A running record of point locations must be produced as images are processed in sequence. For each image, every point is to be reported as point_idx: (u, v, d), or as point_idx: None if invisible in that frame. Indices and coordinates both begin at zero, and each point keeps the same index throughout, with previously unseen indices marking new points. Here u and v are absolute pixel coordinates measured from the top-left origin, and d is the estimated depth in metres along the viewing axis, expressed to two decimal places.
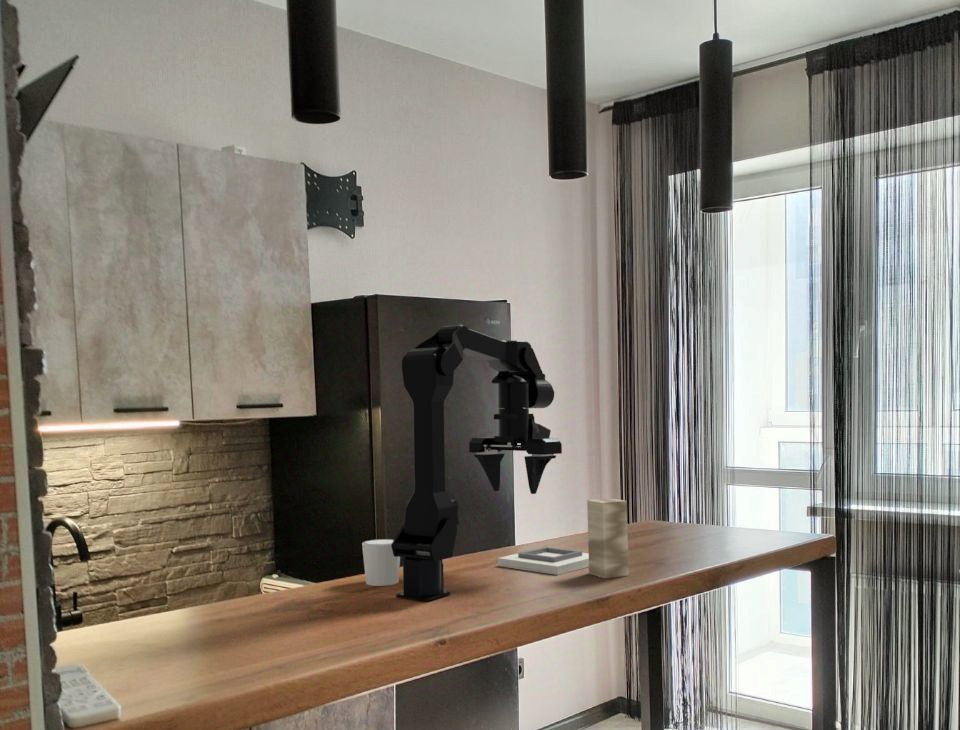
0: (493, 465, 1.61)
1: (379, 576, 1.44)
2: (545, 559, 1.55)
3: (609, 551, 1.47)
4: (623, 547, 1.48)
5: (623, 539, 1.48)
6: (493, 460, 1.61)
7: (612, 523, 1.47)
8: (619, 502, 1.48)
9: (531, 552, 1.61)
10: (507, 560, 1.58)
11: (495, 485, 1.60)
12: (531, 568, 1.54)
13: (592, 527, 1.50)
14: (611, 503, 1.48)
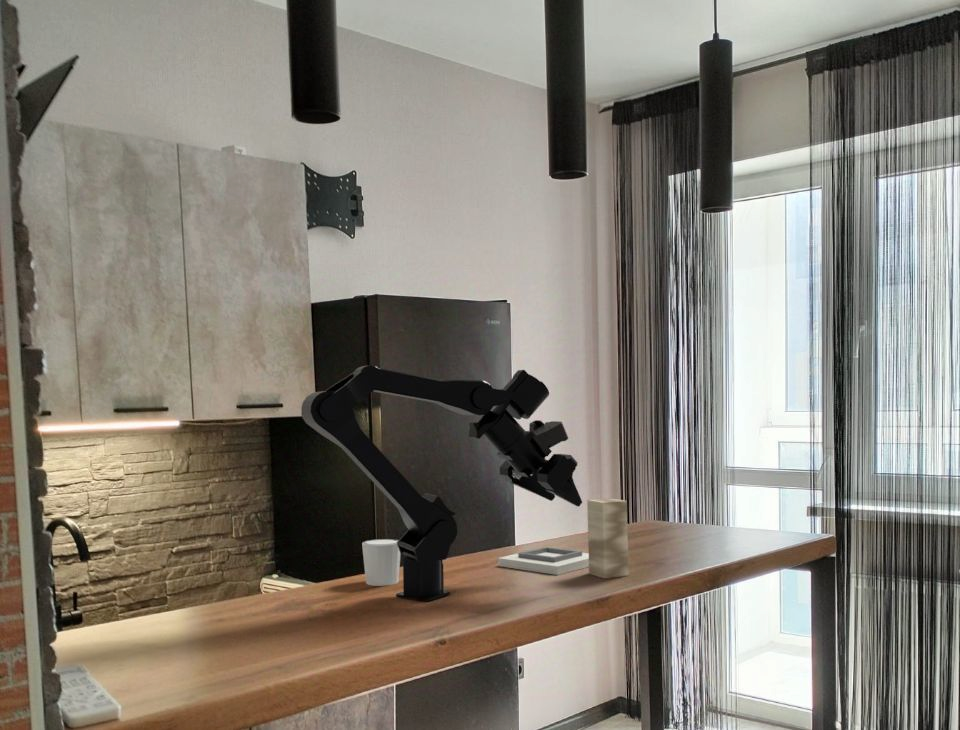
0: (533, 482, 1.50)
1: (379, 576, 1.44)
2: (545, 559, 1.55)
3: (609, 551, 1.47)
4: (623, 547, 1.48)
5: (623, 539, 1.48)
6: (530, 477, 1.50)
7: (612, 523, 1.47)
8: (619, 502, 1.48)
9: (531, 552, 1.61)
10: (507, 560, 1.58)
11: (548, 496, 1.51)
12: (531, 568, 1.54)
13: (592, 527, 1.50)
14: (611, 503, 1.48)
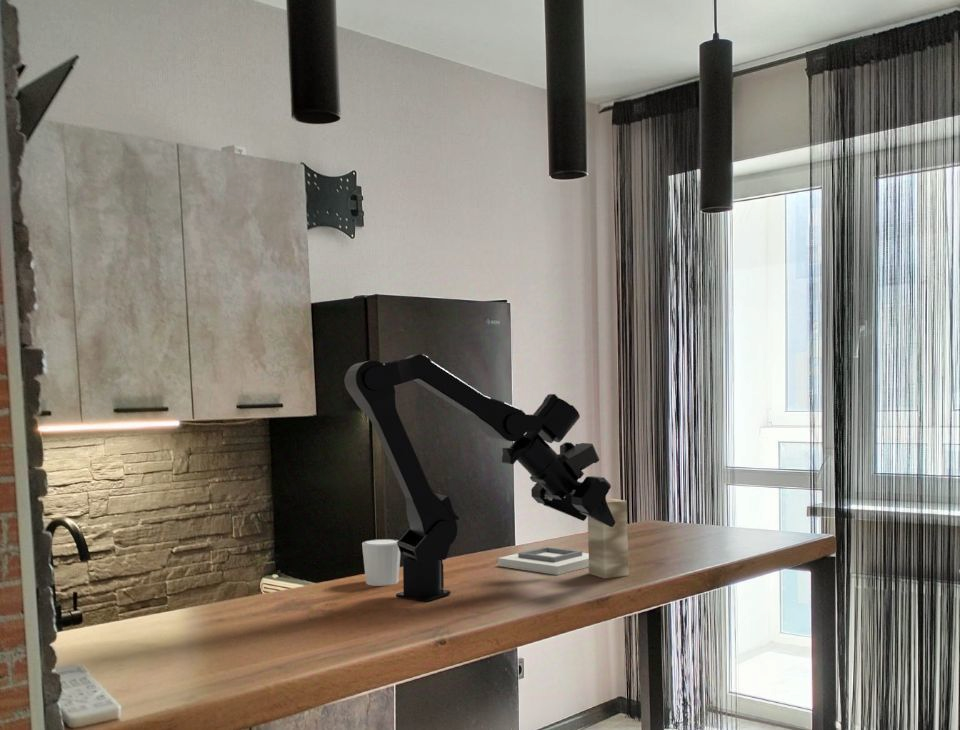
0: (565, 503, 1.52)
1: (379, 576, 1.44)
2: (545, 559, 1.55)
3: (609, 551, 1.47)
4: (623, 547, 1.48)
5: (623, 539, 1.48)
6: (562, 499, 1.52)
7: None
8: (619, 502, 1.48)
9: (531, 552, 1.61)
10: (507, 560, 1.58)
11: (580, 517, 1.53)
12: (531, 568, 1.54)
13: (592, 527, 1.50)
14: (611, 503, 1.48)
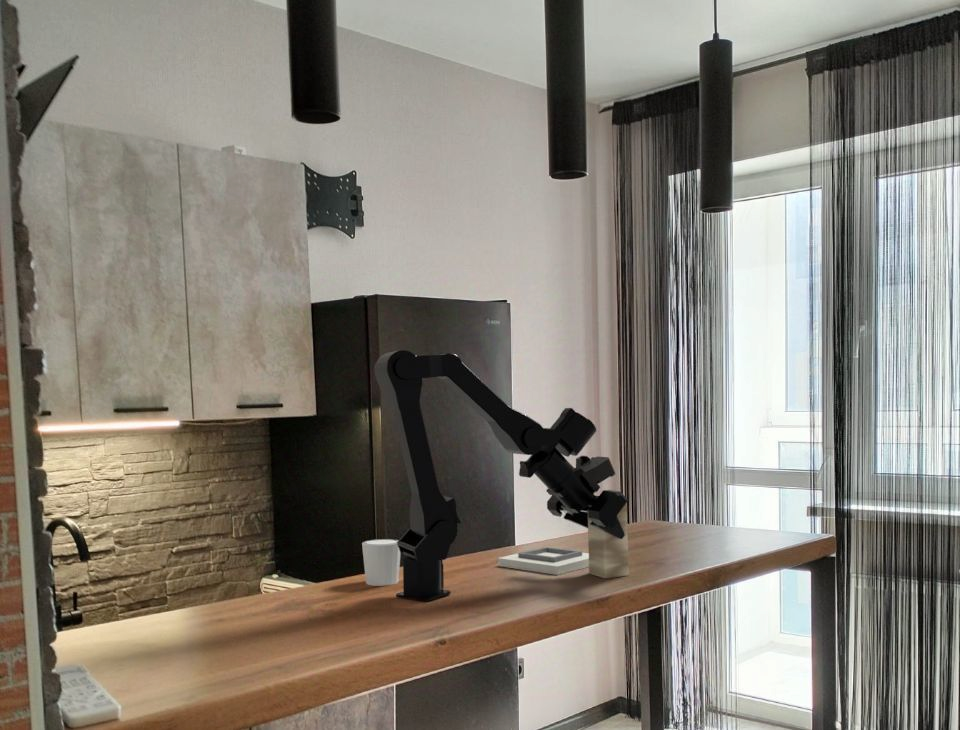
0: (586, 517, 1.52)
1: (379, 576, 1.44)
2: (545, 559, 1.55)
3: (609, 551, 1.47)
4: (623, 547, 1.48)
5: (623, 539, 1.48)
6: (583, 513, 1.52)
7: None
8: None
9: (531, 552, 1.61)
10: (507, 560, 1.58)
11: None
12: (531, 568, 1.54)
13: (592, 527, 1.50)
14: None
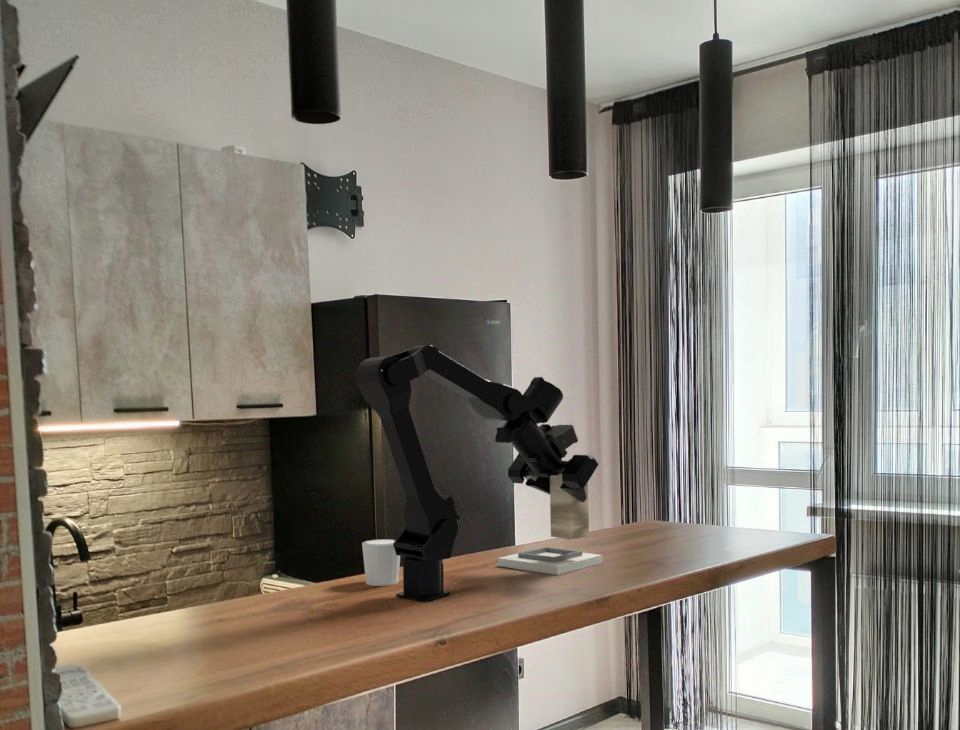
0: (548, 483, 1.58)
1: (379, 576, 1.44)
2: (545, 559, 1.55)
3: (574, 514, 1.54)
4: (585, 510, 1.56)
5: (585, 502, 1.56)
6: (545, 479, 1.58)
7: None
8: None
9: (531, 552, 1.61)
10: (507, 560, 1.58)
11: None
12: (531, 568, 1.54)
13: (555, 492, 1.57)
14: None
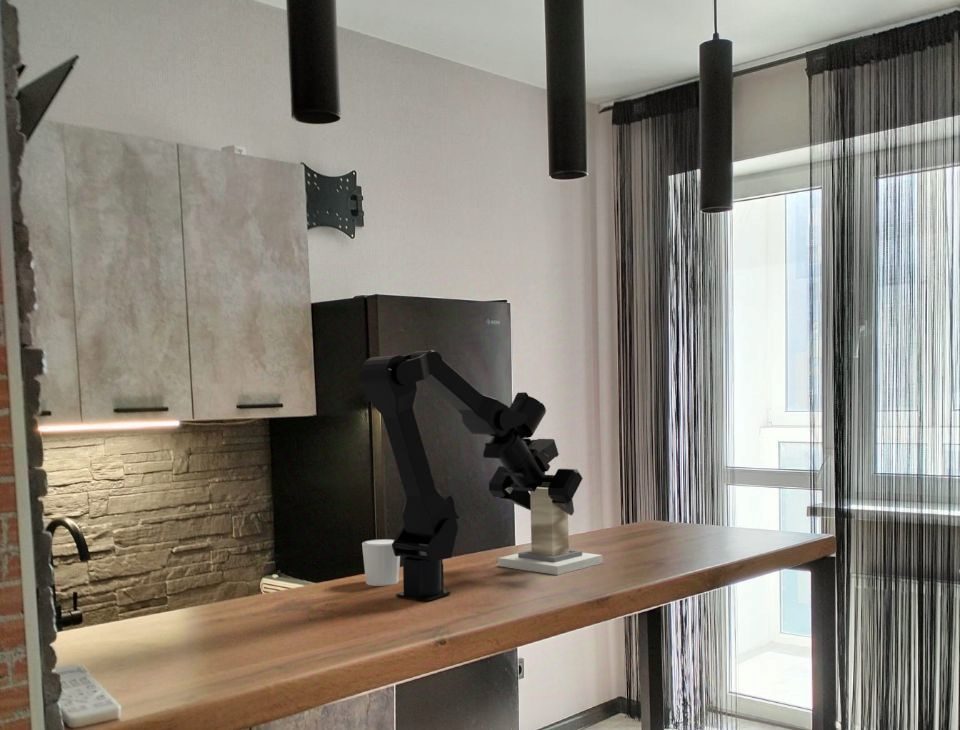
0: (522, 495, 1.62)
1: (379, 576, 1.44)
2: (545, 559, 1.55)
3: (555, 534, 1.57)
4: (565, 530, 1.59)
5: (565, 522, 1.60)
6: (519, 492, 1.61)
7: (557, 507, 1.58)
8: None
9: (531, 552, 1.61)
10: (507, 560, 1.58)
11: None
12: (531, 568, 1.54)
13: (537, 513, 1.59)
14: None
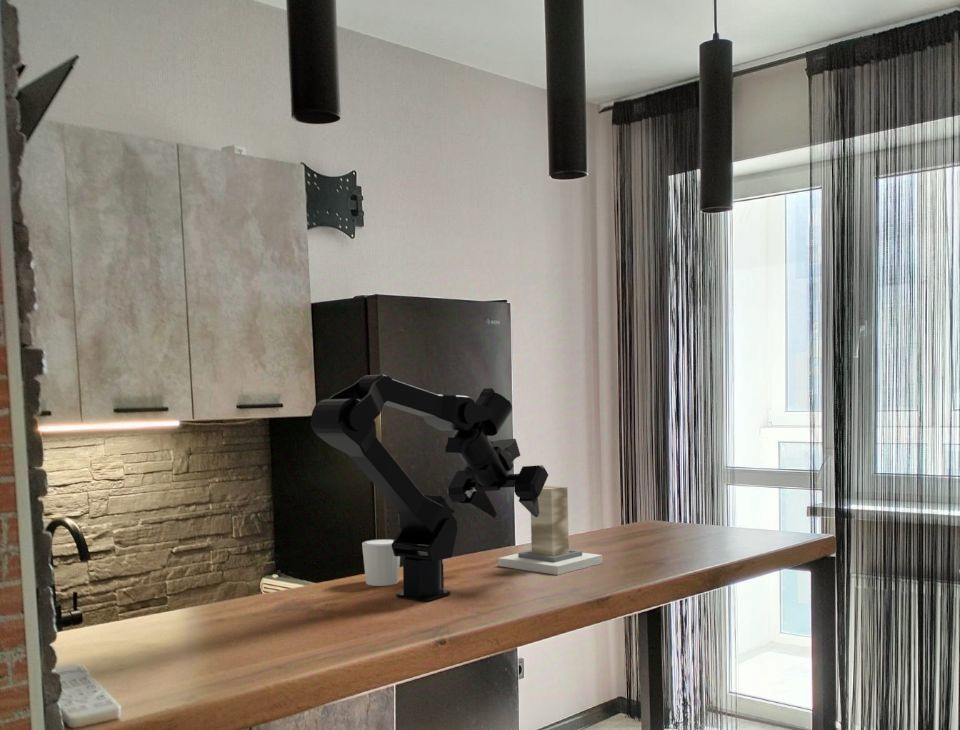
0: (481, 500, 1.55)
1: (379, 576, 1.44)
2: (545, 559, 1.55)
3: (555, 534, 1.57)
4: (565, 530, 1.59)
5: (565, 522, 1.60)
6: (479, 496, 1.54)
7: (557, 507, 1.58)
8: (562, 488, 1.59)
9: (531, 552, 1.61)
10: (507, 560, 1.58)
11: (492, 514, 1.56)
12: (531, 568, 1.54)
13: None
14: (557, 489, 1.58)
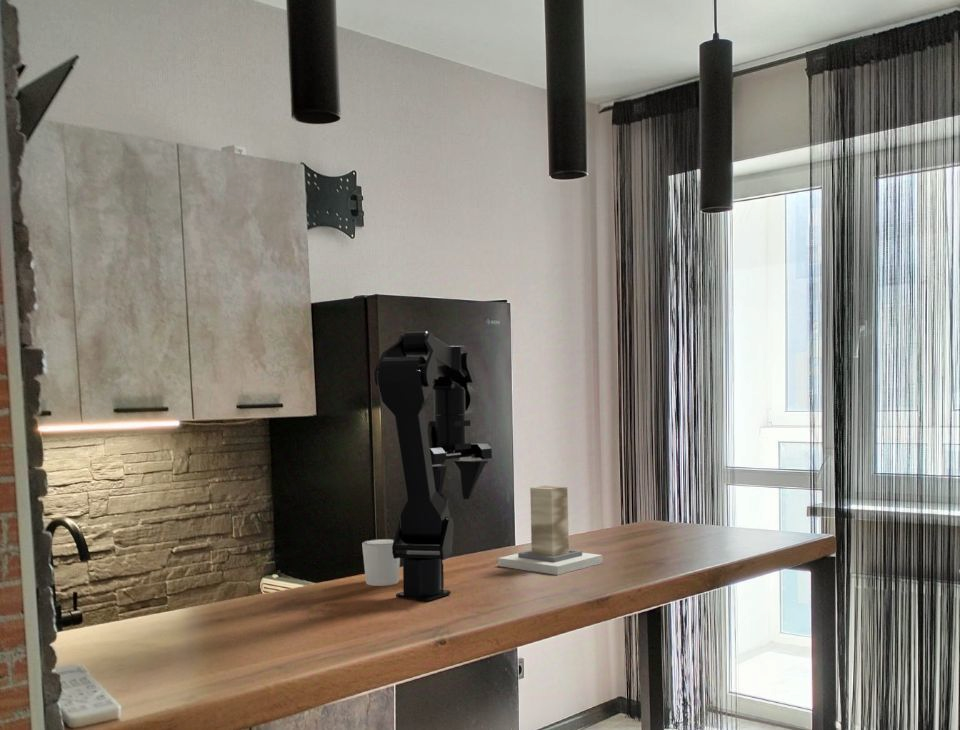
0: None
1: (379, 576, 1.44)
2: (545, 559, 1.55)
3: (555, 534, 1.57)
4: (565, 530, 1.59)
5: (565, 522, 1.60)
6: None
7: (557, 507, 1.58)
8: (562, 488, 1.59)
9: (531, 552, 1.61)
10: (507, 560, 1.58)
11: None
12: (531, 568, 1.54)
13: (537, 513, 1.59)
14: (557, 489, 1.58)
